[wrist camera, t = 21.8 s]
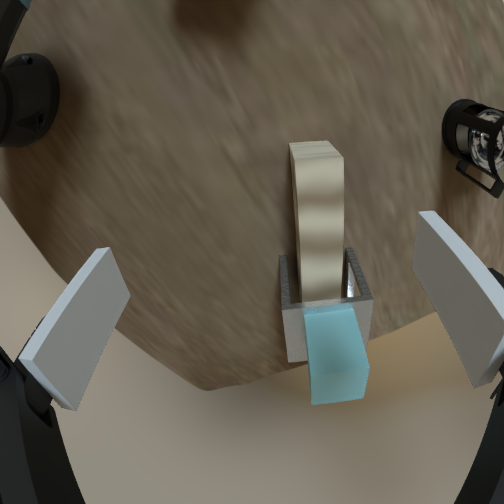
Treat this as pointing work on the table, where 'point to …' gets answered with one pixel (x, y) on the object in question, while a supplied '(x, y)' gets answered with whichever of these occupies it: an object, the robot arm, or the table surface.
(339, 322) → the block
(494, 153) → the french press
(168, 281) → the table surface
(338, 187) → the bar
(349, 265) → the grey open box
